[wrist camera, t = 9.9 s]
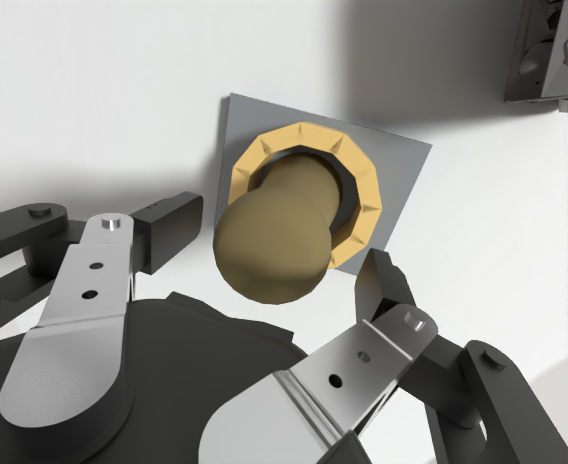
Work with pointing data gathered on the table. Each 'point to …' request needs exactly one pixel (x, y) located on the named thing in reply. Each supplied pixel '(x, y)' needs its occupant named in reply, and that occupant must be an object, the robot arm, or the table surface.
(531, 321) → the table surface
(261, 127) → the collar plate
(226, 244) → the cork
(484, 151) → the table surface
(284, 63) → the table surface
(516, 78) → the electrical switch
